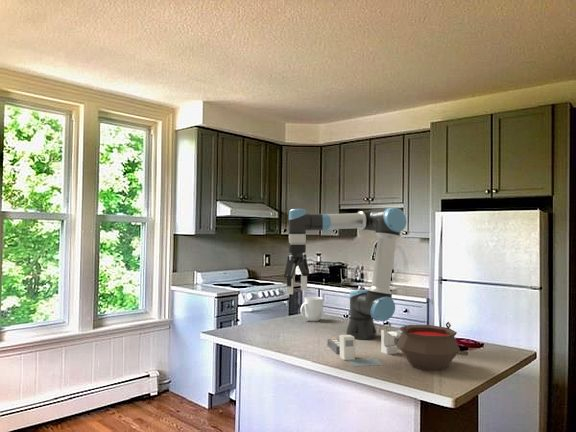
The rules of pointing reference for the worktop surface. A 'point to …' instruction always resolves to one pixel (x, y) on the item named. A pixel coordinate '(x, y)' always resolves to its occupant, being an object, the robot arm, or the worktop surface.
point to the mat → (365, 362)
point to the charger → (347, 347)
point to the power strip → (334, 345)
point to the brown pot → (428, 346)
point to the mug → (312, 308)
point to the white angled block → (387, 343)
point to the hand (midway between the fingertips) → (297, 292)
